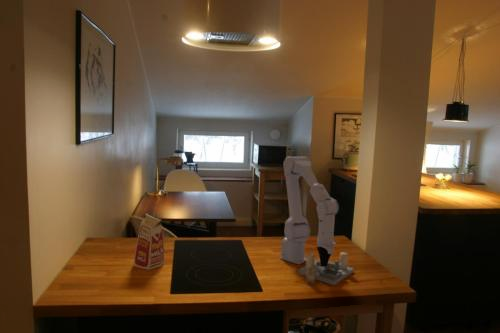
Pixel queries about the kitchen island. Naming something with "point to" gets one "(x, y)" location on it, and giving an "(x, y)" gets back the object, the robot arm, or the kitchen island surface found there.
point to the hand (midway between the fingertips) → (323, 266)
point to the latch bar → (330, 265)
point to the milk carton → (149, 244)
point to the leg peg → (310, 274)
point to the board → (328, 269)
